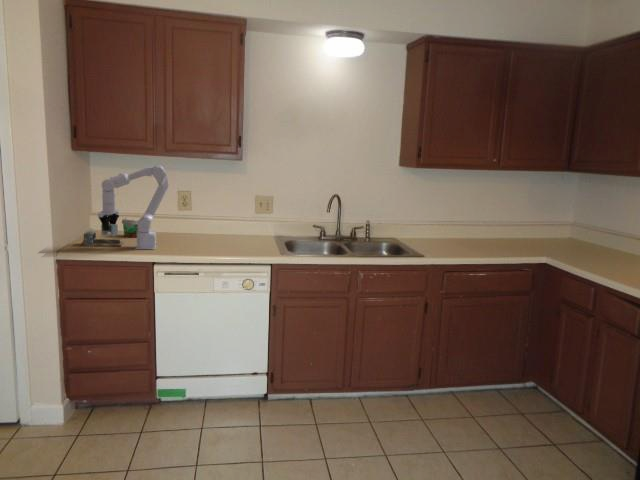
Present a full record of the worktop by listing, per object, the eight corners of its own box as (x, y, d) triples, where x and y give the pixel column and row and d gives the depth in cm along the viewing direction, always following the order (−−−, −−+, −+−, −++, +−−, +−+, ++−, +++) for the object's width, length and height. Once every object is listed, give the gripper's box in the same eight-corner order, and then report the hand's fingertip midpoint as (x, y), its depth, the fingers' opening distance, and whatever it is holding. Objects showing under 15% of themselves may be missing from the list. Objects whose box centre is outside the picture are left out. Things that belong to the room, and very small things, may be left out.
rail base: (123, 243, 264) (123, 231, 263) (120, 246, 257) (120, 234, 255) (83, 243, 260) (83, 231, 259) (79, 246, 252) (79, 233, 251)
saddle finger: (106, 233, 253) (106, 223, 252) (117, 234, 252) (117, 224, 251) (100, 235, 249) (100, 224, 248) (112, 236, 248) (111, 225, 247)
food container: (117, 236, 282) (116, 219, 280) (125, 234, 287) (125, 217, 285) (132, 239, 276) (132, 221, 274) (140, 237, 281) (140, 220, 279)
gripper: (110, 200, 255) (111, 226, 258) (92, 203, 241) (92, 230, 244) (122, 202, 254) (123, 227, 256) (104, 205, 240) (105, 232, 242)
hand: (109, 229), depth 250 cm, fingers closed on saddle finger, 4 cm apart
